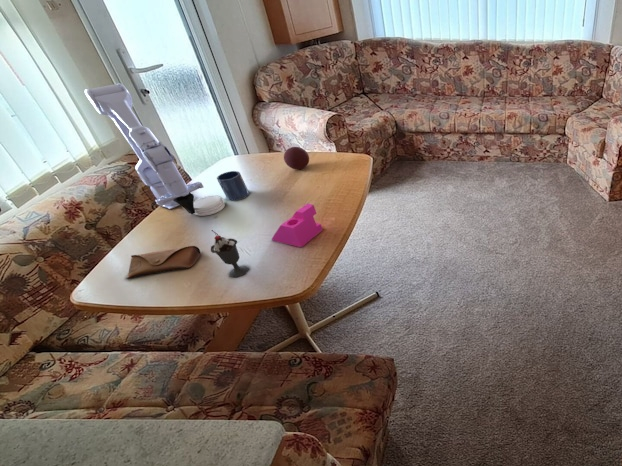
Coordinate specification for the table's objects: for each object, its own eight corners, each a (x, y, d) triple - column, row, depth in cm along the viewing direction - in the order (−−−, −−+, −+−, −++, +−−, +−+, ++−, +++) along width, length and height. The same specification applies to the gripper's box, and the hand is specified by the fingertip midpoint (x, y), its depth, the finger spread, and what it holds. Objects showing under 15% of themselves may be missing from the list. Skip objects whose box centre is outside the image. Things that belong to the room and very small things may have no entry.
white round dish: (230, 206, 145) (226, 199, 143) (203, 219, 138) (198, 211, 136) (217, 200, 150) (213, 192, 148) (190, 211, 143) (185, 203, 141)
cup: (222, 198, 151) (212, 178, 145) (241, 189, 156) (231, 169, 151) (235, 202, 148) (225, 182, 143) (253, 193, 154) (244, 173, 148)
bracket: (322, 229, 131) (313, 204, 125) (301, 247, 124) (290, 221, 118) (295, 224, 135) (285, 199, 129) (272, 240, 127) (260, 215, 121)
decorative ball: (316, 167, 171) (309, 147, 165) (293, 175, 166) (285, 154, 160) (306, 161, 177) (299, 141, 171) (284, 168, 171) (276, 148, 165)
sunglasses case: (123, 279, 112) (116, 257, 111) (139, 275, 119) (133, 255, 118) (192, 267, 116) (186, 246, 115) (204, 263, 123) (199, 243, 122)
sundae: (232, 265, 117) (209, 225, 108) (255, 263, 117) (233, 224, 108) (221, 280, 112) (196, 239, 103) (245, 278, 112) (222, 238, 103)
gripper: (155, 191, 124) (177, 225, 132) (200, 173, 134) (218, 205, 142) (144, 187, 127) (166, 221, 135) (188, 169, 137) (206, 201, 145)
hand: (192, 212), depth 139 cm, fingers closed
